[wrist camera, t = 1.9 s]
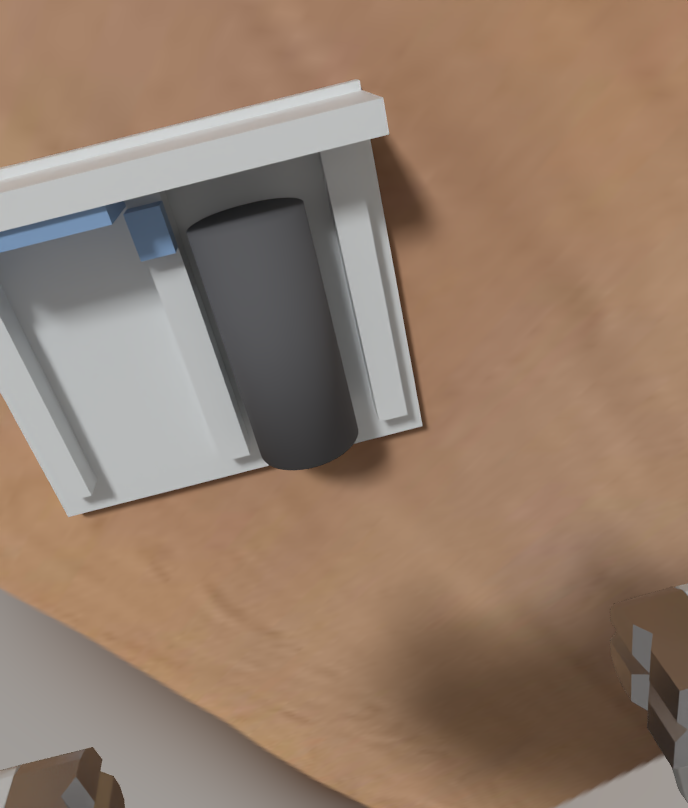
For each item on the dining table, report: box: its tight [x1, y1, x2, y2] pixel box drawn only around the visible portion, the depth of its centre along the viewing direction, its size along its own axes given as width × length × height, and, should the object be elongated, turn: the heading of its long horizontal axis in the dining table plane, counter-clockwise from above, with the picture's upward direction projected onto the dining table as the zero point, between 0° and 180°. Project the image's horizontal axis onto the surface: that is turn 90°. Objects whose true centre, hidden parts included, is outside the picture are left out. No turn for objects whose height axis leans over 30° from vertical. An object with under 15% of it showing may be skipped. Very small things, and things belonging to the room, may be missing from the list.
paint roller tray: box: [0, 79, 422, 517], centre depth 24 cm, size 14×16×5 cm
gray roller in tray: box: [186, 198, 358, 470], centre depth 24 cm, size 9×4×4 cm, turn 12°
